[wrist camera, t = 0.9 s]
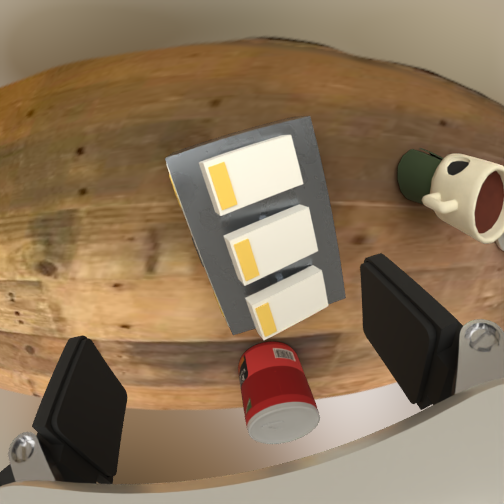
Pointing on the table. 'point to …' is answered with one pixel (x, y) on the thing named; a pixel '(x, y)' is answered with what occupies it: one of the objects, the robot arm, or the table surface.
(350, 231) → the table surface
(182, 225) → the table surface
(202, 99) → the table surface
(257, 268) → the rocker
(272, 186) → the rocker
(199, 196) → the console
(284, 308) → the rocker
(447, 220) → the character mug
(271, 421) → the canned food
